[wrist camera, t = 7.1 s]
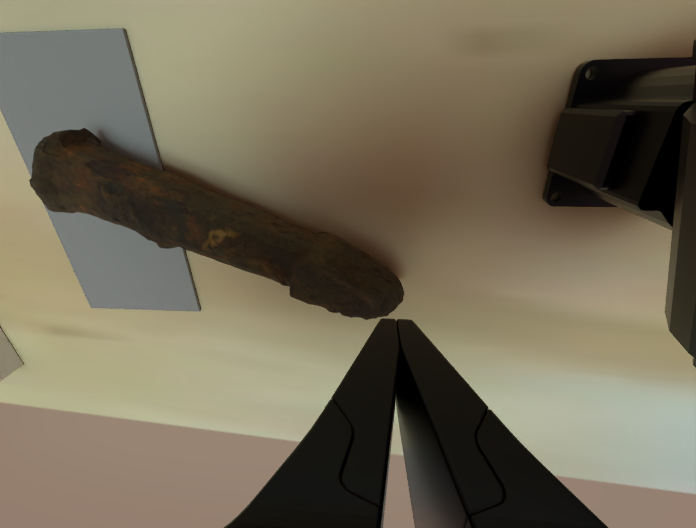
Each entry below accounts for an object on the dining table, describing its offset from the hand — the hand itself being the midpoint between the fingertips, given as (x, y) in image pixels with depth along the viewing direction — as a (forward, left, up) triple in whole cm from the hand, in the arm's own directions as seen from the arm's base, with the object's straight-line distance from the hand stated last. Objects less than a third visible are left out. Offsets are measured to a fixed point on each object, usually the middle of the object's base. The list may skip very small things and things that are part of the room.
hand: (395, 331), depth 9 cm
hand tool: (+8, 0, -11) cm, 13 cm away
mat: (+17, -1, -11) cm, 20 cm away
